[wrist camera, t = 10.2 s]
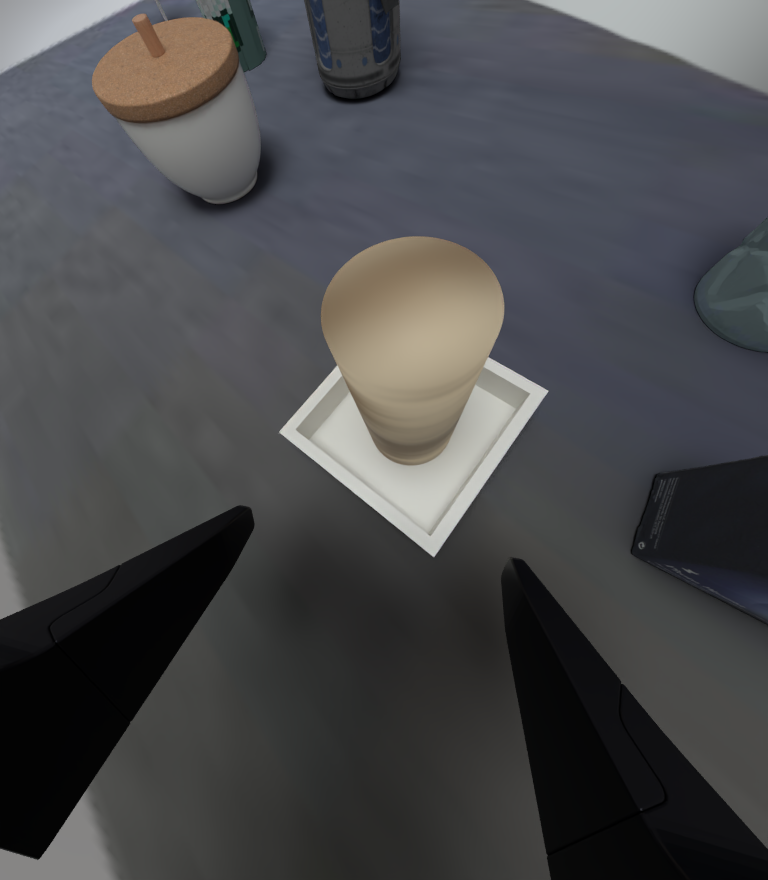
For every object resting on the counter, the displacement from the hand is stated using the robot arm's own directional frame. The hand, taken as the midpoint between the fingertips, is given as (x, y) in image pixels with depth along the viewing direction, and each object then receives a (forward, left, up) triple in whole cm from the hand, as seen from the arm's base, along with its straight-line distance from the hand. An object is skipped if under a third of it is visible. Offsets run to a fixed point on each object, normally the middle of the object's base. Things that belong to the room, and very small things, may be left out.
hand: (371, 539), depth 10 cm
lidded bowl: (+38, -19, -11) cm, 44 cm away
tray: (+3, -7, -11) cm, 13 cm away
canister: (+3, -7, -10) cm, 12 cm away
